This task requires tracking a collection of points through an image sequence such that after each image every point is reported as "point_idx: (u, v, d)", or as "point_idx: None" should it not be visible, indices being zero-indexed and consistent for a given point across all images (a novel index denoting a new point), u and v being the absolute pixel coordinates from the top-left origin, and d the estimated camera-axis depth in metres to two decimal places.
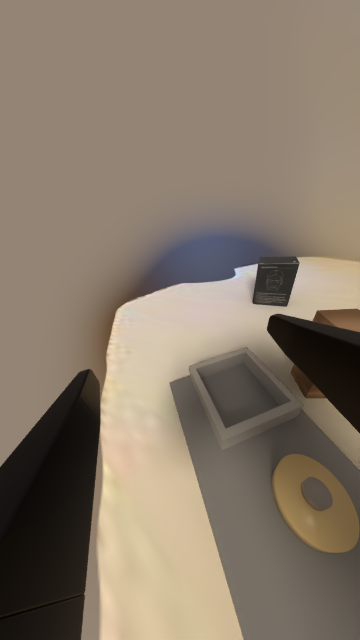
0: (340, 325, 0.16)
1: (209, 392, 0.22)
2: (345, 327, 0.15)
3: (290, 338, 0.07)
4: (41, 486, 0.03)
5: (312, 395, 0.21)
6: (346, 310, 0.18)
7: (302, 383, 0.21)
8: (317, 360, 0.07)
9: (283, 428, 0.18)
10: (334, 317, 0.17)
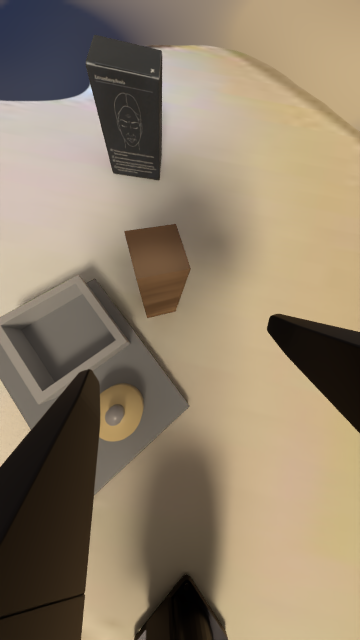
0: (139, 264, 0.11)
1: (39, 342, 0.18)
2: (143, 267, 0.11)
3: (290, 338, 0.07)
4: (41, 486, 0.03)
5: (151, 315, 0.21)
6: (161, 229, 0.12)
7: None
8: (317, 360, 0.07)
9: (116, 358, 0.19)
10: (140, 246, 0.12)
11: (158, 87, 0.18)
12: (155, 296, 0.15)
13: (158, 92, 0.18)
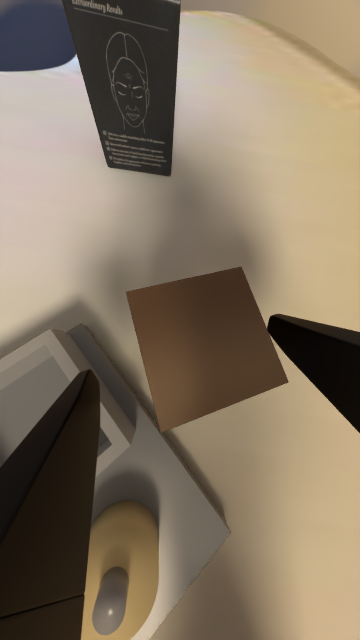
0: (166, 384, 0.04)
1: None
2: (177, 391, 0.04)
3: (290, 338, 0.07)
4: (41, 486, 0.03)
5: None
6: (210, 281, 0.05)
7: None
8: (317, 360, 0.07)
9: None
10: (165, 330, 0.05)
11: (177, 20, 0.11)
12: None
13: (177, 30, 0.11)
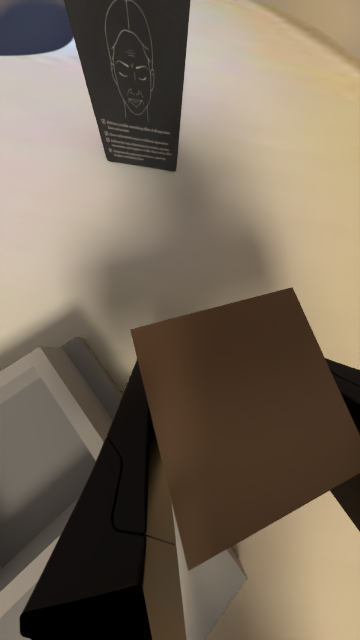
0: (194, 481, 0.03)
1: None
2: (211, 492, 0.03)
3: None
4: (152, 442, 0.04)
5: None
6: (251, 310, 0.04)
7: None
8: None
9: None
10: (190, 390, 0.03)
11: None
12: None
13: None
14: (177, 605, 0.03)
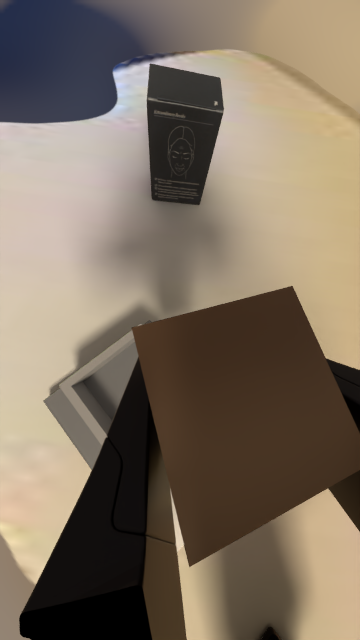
0: (195, 478, 0.03)
1: (103, 394, 0.18)
2: (212, 489, 0.03)
3: None
4: (152, 442, 0.04)
5: None
6: (252, 308, 0.04)
7: None
8: None
9: None
10: (190, 387, 0.03)
11: (220, 120, 0.17)
12: None
13: (219, 124, 0.17)
14: (177, 605, 0.03)
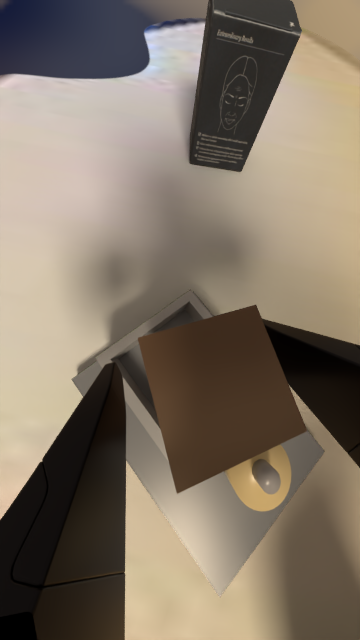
0: (181, 439, 0.04)
1: (142, 375, 0.15)
2: (193, 446, 0.04)
3: (272, 344, 0.07)
4: (90, 466, 0.04)
5: None
6: (224, 322, 0.05)
7: None
8: (297, 368, 0.06)
9: None
10: (179, 379, 0.05)
11: (294, 47, 0.14)
12: None
13: (291, 55, 0.14)
14: None
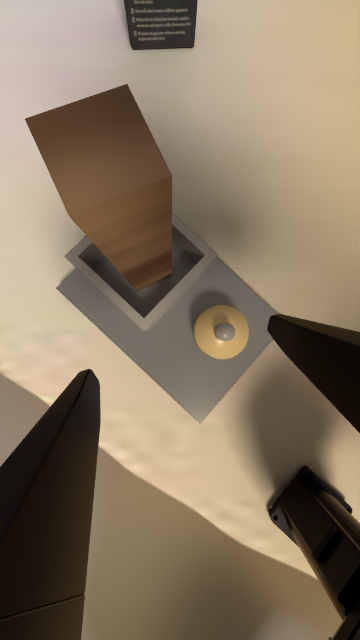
0: (69, 184, 0.06)
1: (115, 278, 0.17)
2: (78, 189, 0.06)
3: (290, 338, 0.07)
4: (41, 486, 0.03)
5: (141, 287, 0.16)
6: (98, 100, 0.06)
7: None
8: (317, 360, 0.07)
9: (199, 283, 0.17)
10: (62, 146, 0.06)
11: None
12: (130, 254, 0.10)
13: None
14: None
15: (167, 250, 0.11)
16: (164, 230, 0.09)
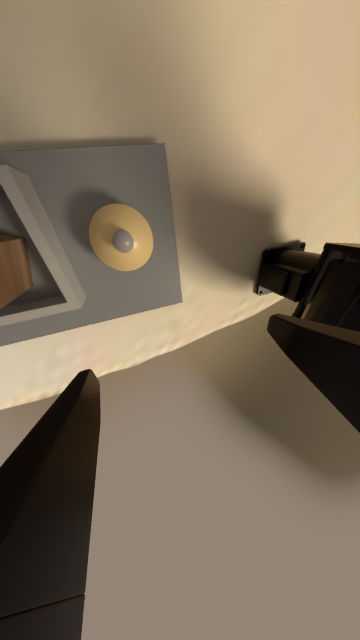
0: None
1: None
2: None
3: (290, 338, 0.07)
4: (41, 486, 0.03)
5: (29, 280, 0.14)
6: None
7: None
8: (317, 360, 0.07)
9: (52, 212, 0.13)
10: None
11: None
12: None
13: None
14: None
15: None
16: None
